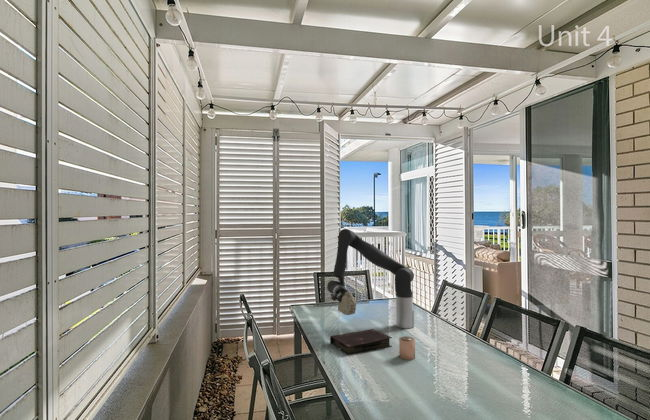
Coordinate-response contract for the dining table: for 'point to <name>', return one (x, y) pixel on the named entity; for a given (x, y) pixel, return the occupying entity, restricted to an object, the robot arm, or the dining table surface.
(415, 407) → the dining table surface
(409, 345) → the peach glossy cylinder
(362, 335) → the diary
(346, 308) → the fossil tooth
